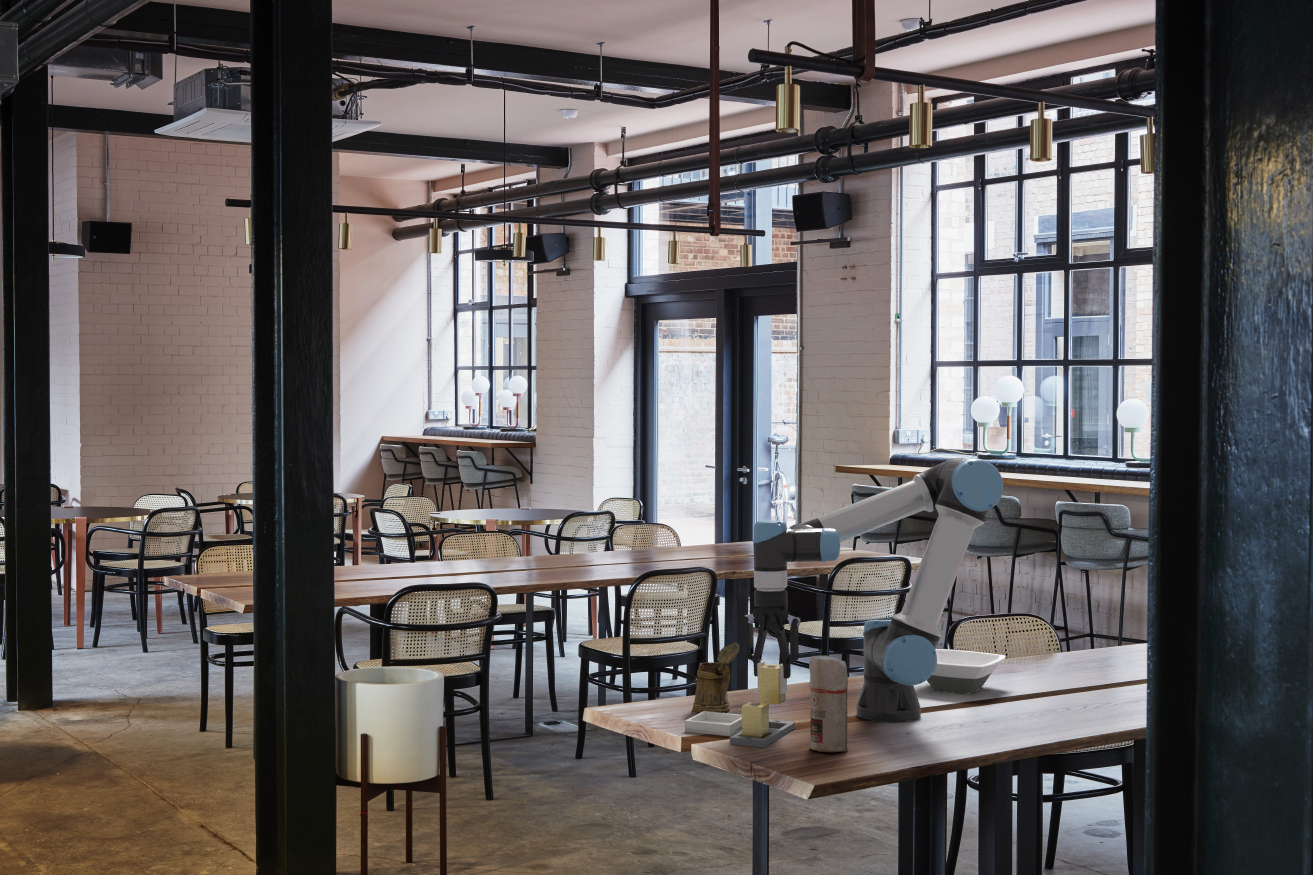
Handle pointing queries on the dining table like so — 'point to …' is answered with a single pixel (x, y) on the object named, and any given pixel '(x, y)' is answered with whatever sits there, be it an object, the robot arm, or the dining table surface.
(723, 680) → the wooden mug
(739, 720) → the tray
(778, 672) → the brass nut
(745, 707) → the brass nut
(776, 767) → the dining table surface
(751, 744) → the gray rectangular tray
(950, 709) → the dining table surface
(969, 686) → the bowl
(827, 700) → the spray can
